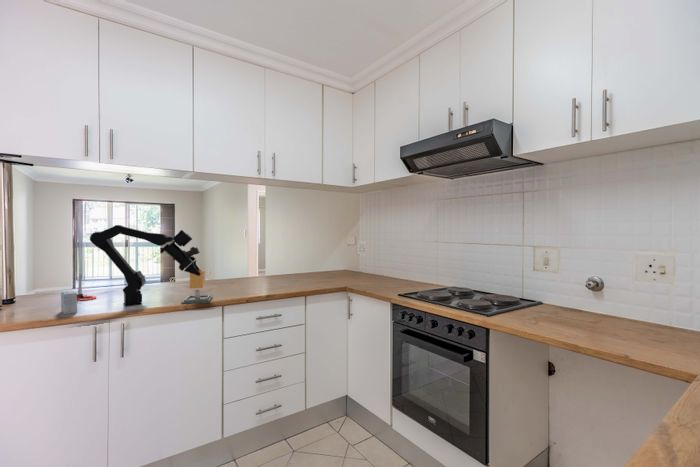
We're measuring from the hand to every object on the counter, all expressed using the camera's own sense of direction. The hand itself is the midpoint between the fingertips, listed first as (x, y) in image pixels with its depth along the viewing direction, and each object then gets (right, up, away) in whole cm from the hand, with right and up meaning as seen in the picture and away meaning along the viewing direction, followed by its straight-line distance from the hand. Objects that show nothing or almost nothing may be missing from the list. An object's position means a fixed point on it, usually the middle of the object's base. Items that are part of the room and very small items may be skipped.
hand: (200, 274), depth 165 cm
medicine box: (-46, -14, -25) cm, 54 cm away
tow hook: (-60, -13, +1) cm, 61 cm away
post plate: (-1, -13, 0) cm, 13 cm away
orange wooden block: (-1, -7, 0) cm, 7 cm away
